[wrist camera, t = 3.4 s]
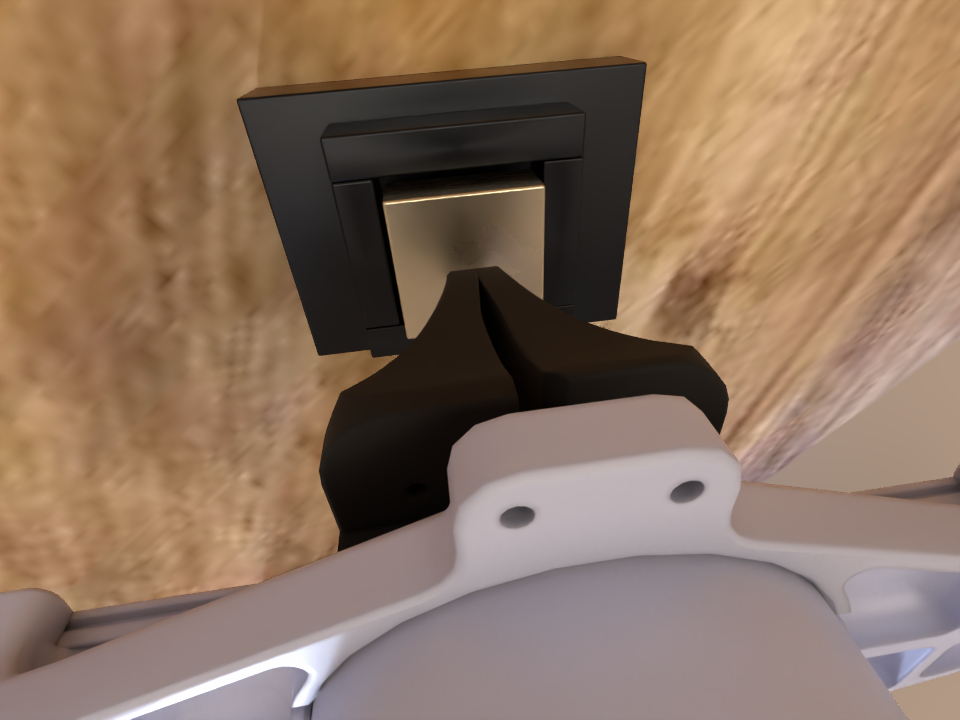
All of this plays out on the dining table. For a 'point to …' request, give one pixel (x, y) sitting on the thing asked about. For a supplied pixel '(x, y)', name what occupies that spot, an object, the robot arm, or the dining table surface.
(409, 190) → the switch
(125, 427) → the dining table surface
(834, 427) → the dining table surface
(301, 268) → the switch block
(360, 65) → the dining table surface
